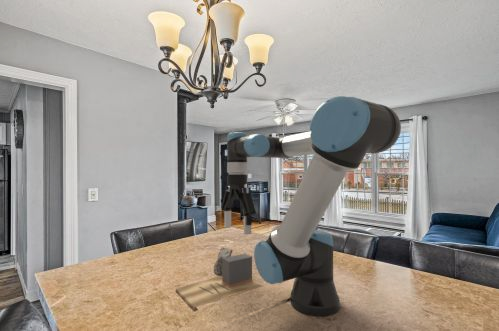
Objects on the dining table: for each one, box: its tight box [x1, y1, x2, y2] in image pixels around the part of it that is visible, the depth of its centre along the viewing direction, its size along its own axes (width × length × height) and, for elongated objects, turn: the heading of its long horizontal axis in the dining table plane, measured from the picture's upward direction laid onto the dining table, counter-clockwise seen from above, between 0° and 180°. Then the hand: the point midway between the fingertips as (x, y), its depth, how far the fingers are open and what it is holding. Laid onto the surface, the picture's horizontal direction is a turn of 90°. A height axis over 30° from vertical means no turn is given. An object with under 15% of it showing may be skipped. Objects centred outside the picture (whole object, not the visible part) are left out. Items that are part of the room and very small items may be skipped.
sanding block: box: [221, 253, 253, 288], centre depth 97 cm, size 10×5×9 cm, turn 125°
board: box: [175, 275, 263, 311], centre depth 93 cm, size 16×26×1 cm, turn 125°
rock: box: [213, 247, 233, 275], centre depth 111 cm, size 16×8×10 cm, turn 165°
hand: (237, 230), depth 97 cm, fingers open, 13 cm apart
